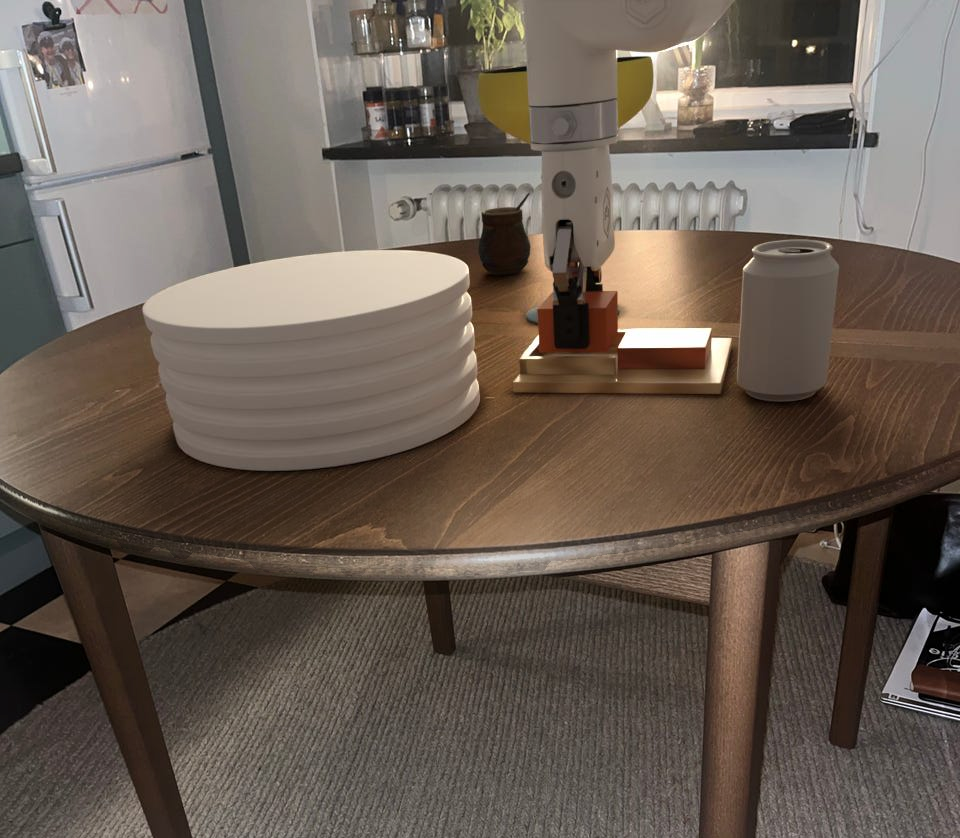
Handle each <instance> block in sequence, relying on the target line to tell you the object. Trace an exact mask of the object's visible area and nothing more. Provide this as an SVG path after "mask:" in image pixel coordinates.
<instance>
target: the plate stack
mask: <svg viewBox="0 0 960 838" xmlns="http://www.w3.org/2000/svg"><path fill="white" fill-rule="evenodd" d="M469 270H470V269H469V266H468V264H466V263H465V261H463V260H461V259H459V258H457V257H453V256H451V255H448V254H443V253H437V252H431V251H422V250H408V249H406V250H405V249H369V250H350V251H334V252H324V253H315V254H305V255H298V256H289V257H284V258H277V259H276V258H275V259H270V260H266V261H265V260H264V261H259V262H253V263H249V264H248V263H247V264H243V265H239V266H235V267H230V268H226V269H221V270H217V271H214V272H210V273H207V274H202V275H200V276H199V275H198V276H195V277H193V278H190V279H187V280H184V281H180V282H179V283H176V284H173V285H171V286H169V287H166V288H164V289H163V290H161V291H159V292H157V293H155V294H153V295H152V296H150V297H149V298H148V299H147V300H146V301H145V302H144V304H143V305H142V308H141V309H142V310H141V311H142V315H143V319H144V322H145V326H146V328H147V329H148V330H149V332H151V333H152V334H151V335H150V339H149V341H150V346H151V350H152V353H153V357H154V358H155V360H156V362H158V363H159V364H158V366H157V367H158V368H157V371H158V376H159V380H160V384H161V387H162V389H163V390H164V391H165V392H166V394H165V402H166V406H167V410H168V413H169V416H170V418H171V420H172V421H173V423H172V429H173V433H174V437H175V440H176V441H175V442H176V444H177V446H178V447H179V449H180V450H182V452H184V454H186V455H188V456H190V457H191V458H193V459H195V460H197V461H199V462H201V463H202V462H203V463H205V464H208V465H212V466H217V467H222V468H227V469H228V468H229V469H234V470H244V471H255V472H256V471H260V472H280V471H281V472H284V471H285V472H287V471H304V470H305V471H306V470H315V469H316V470H317V469H326V468H335V467H339V466H346V465H352V464H357V463H362V462H368V461H372V460H376V459H380V458H384V457H389V456H391V455H392V456H393V455H396V454H399V453H402V452H405V451H408V450H411V449H415V448H417V447H420V446H423V445H425V444H428V443H430V442H432V441H435V440H438V439H439V438H442V437H443V436H445V435H447V434H449V433H452V431H454V430H455V429H457V428H459V427H460V426H462V425H464V423H466V422H467V421H468V420H470V418H471V417H472V416H473V415H474V414H475V412H476V411H477V409H478V408H479V405H480V400H481V396H480V395H481V394H480V386H479V385H480V384H479V381H478V379H477V376H478V361H477V354H476V352H475V351H474V349H475V345H476V338H475V329H474V328H475V327H474V325H473V324H472V322H471V320H472V318H473V303H472V298H471V295H470V294H469V293H468V290H469V288H470V284H471V283H470V271H469Z"/></svg>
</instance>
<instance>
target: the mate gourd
mask: <svg viewBox="0 0 960 838" xmlns="http://www.w3.org/2000/svg"><path fill="white" fill-rule="evenodd" d="M530 194H531V192H527V193H526V194H525V196H524V197H523V199H522V200H521V201H520V202H519V204H518V205H517V206H516V207H515V206H512V207H511V206H503V207H494V208H489V209H485V210H483V211H481V223H482V230H481V234H480V238H479V241H478V249H477V251H478V256H479V260H480V262H481V265H482V267H483V269H484V270H485V271H487V273H489V275H492V276H509V275H515V274H519V273H521V272H522V271H523V270H524V269H525V267H526V266H527V265H528V264H529V258H530V256H531V242H530V241H531V240H530V238H529V235H528V233H527V232H526V229H525V227H524V223H523V220H524V219H523V218H524V217H523V215H524V214H523V209H522V208H521V207H522V206H524V204H525V202H526V201H527V199H528V198H529V197H530Z"/></svg>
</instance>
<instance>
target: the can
mask: <svg viewBox="0 0 960 838" xmlns="http://www.w3.org/2000/svg"><path fill="white" fill-rule="evenodd" d="M833 249H834V246H833V245H831V243H829V242H826V241H822V240H816V239H783V240H782V239H781V240H780V239H779V240H773V241H768V242H764V243H760V244H757V245H755V246H754V247H753V248H752V249H751V252H752V254H753V256H752V258H750V260H749V261H748V262H747V263H746V264H745V265H744V266H743V268H742V282H741V298H740V299H741V300H740V316H739V317H740V318H739V332H738V333H739V334H738V335H739V336H738V352H737V353H738V354H737V369H736V370H737V371H736V372H737V373H736V382H737V385H738V386H739V387H740V388H741V389H743V390H744V391H745V392H746V395H748V396H749V397H751V398H754V399H757V400H760V401H767V402H776V403H777V402H779V403H781V402H794V401H802V400H804V399H808V398H810V397H813V396H814V395H815V394H816V393H817V392H818V391H819V390H820V389H822V388H823V387H824V386H826V384H827V382H828V376H829V368H830V367H829V365H830V358H831V357H830V356H831V347H832V337H833V329H834V319H835V310H836V301H837V292H838V291H837V290H838V280H839V271H840V265H839V264H838V262H837V261H836V260H835V259H834V257H833V256H832V255H831V251H832V250H833Z"/></svg>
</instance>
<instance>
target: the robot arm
mask: <svg viewBox="0 0 960 838" xmlns="http://www.w3.org/2000/svg"><path fill="white" fill-rule="evenodd" d="M735 1H736V0H523V19H524V20H523V21H524V40H525V58H526V66H527V80H528V100H529V105H530V106H529V122H530V141H531V145H530V150H531V151H537V152H541V175H540V179H541V219H542V220H541V226H542V246H543V247H542V248H543V257H544V265H545V268H547V269H548V270H549V271H550V272H551V274H552V278H553V283H552V292H553V322H554V345H555V347H556V348H557V349H586V348H587V347H588V346H589V343H590V341H589V303H585V291H604V288H603V287H604V286H603V285H604V284H603V283H602V279H603V278H602V277H603V272H602V266H603V265H604V264H605V263H606V261H607V260H608V259H609V258H610V256H611V255H612V254H613V252H614V250H615V246H616V243H615V242H616V241H615V220H614V199H613V198H614V195H613V178H612V177H613V176H612V164H611V163H612V162H611V154H610V145H614V144H617V143H618V142H619V139H618V137H619V135H618V133H619V131H618V130H619V128H618V119H617V57H618V51H622V52H623V51H624V52H634V53H660V52H665V51H669V50H673V49H676V48H679V47H683V46H687V45H689V44H692V43H694V42H696V41H697V40H699V39H700V38H702V37H703V36H705V34H707V33H708V32H709V30H711V29H712V28H713V27H714V26H715V24H716V23H718V21H719V20H720V19H721V17H722V16H723V15H724V14H725V13H726V12H727V10H728V9H729V8H730V7H731V5H733V3H734V2H735ZM570 277H572V278H570Z"/></svg>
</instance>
